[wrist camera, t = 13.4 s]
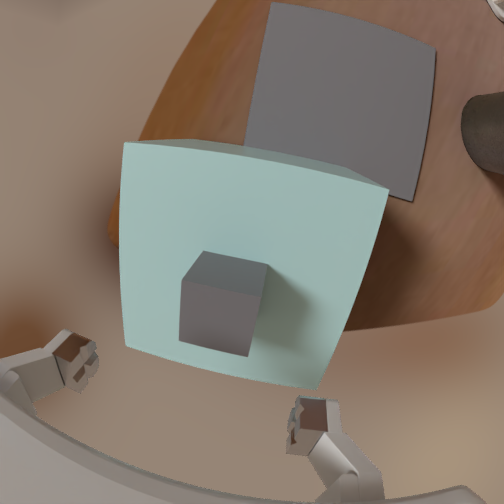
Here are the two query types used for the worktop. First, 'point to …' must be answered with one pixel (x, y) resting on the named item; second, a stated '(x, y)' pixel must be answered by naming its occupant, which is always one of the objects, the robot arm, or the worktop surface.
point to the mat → (343, 95)
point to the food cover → (241, 256)
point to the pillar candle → (485, 131)
